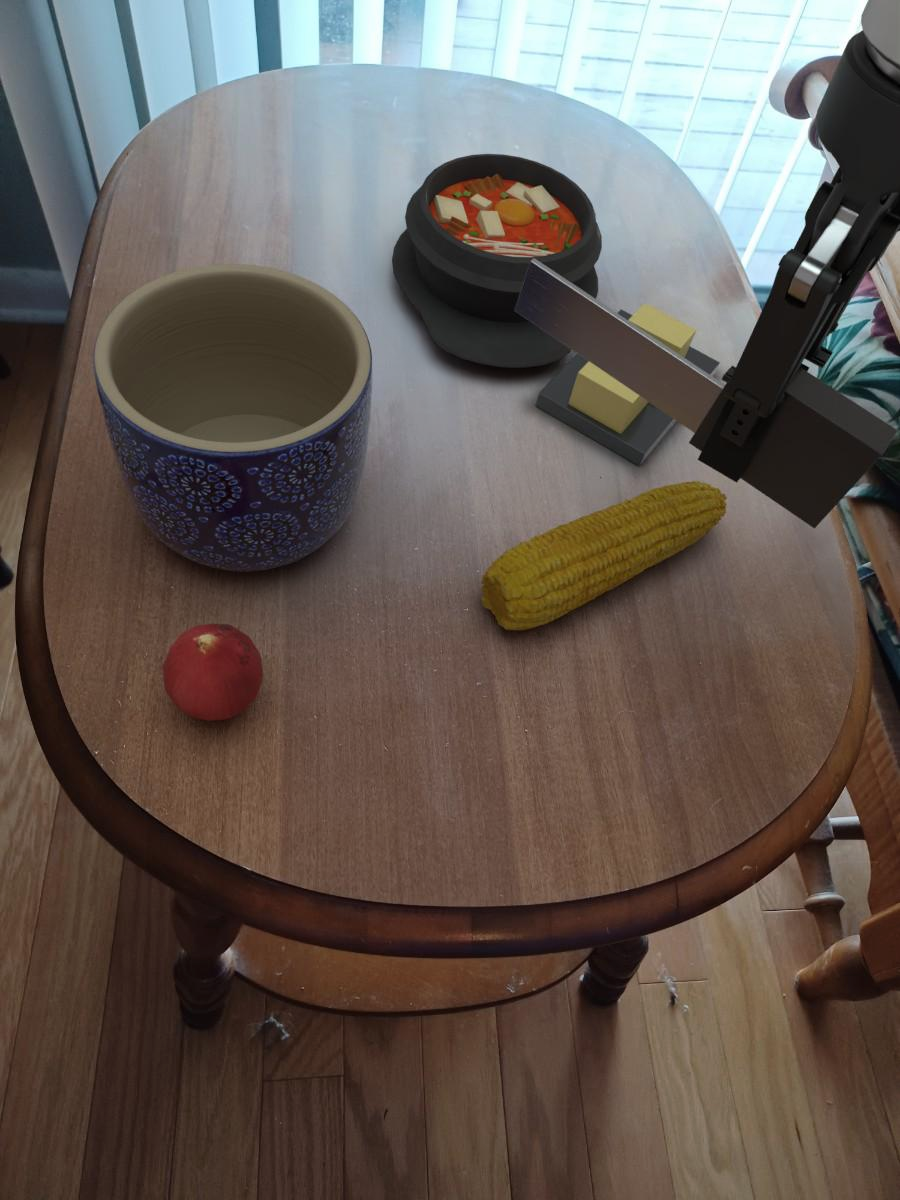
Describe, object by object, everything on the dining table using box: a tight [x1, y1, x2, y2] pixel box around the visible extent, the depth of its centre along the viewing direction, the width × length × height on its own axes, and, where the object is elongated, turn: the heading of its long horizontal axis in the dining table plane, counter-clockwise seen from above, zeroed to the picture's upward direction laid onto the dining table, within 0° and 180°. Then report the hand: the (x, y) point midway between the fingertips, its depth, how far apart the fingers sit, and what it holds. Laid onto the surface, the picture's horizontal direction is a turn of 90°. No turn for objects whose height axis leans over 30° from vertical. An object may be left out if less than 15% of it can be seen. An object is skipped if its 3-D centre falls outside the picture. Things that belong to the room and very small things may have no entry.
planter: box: [92, 263, 373, 573], centre depth 63 cm, size 17×17×15 cm
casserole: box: [391, 153, 603, 369], centre depth 83 cm, size 25×19×8 cm
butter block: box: [568, 362, 648, 434], centre depth 76 cm, size 5×5×4 cm
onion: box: [162, 623, 264, 722], centre depth 57 cm, size 6×6×8 cm
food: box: [480, 480, 728, 631], centre depth 68 cm, size 21×6×6 cm, turn 124°
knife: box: [514, 258, 898, 529], centre depth 56 cm, size 23×2×7 cm, turn 54°
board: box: [535, 309, 721, 467], centre depth 80 cm, size 10×14×2 cm
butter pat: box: [628, 302, 697, 358], centre depth 80 cm, size 5×3×4 cm, turn 55°
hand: (731, 452), depth 58 cm, fingers closed on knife, 2 cm apart
